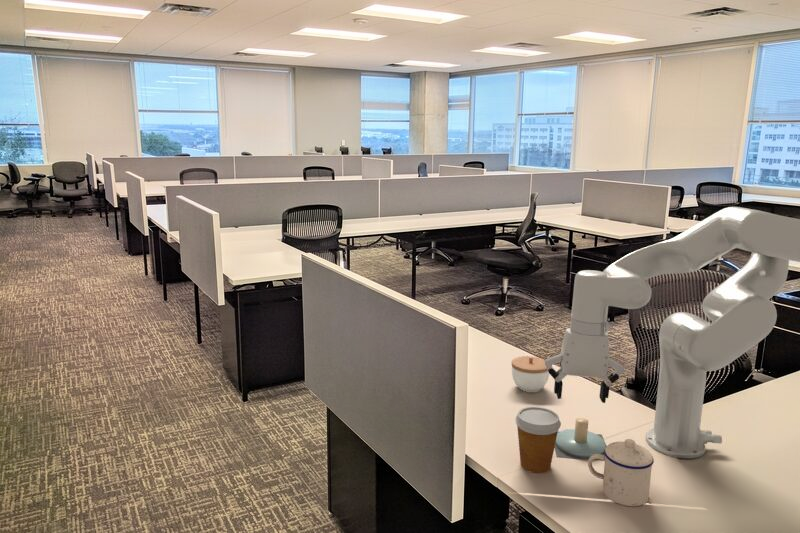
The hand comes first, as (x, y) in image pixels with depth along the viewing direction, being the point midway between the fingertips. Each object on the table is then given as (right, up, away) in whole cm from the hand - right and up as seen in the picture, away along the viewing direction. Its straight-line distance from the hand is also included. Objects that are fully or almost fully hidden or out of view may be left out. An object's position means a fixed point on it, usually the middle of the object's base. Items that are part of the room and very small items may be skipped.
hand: (580, 398), depth 131 cm
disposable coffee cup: (-12, -14, -6) cm, 19 cm away
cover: (+1, -11, +2) cm, 12 cm away
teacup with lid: (+3, -16, -15) cm, 22 cm away
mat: (+1, -12, +3) cm, 12 cm away
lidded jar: (-4, -5, +35) cm, 35 cm away
